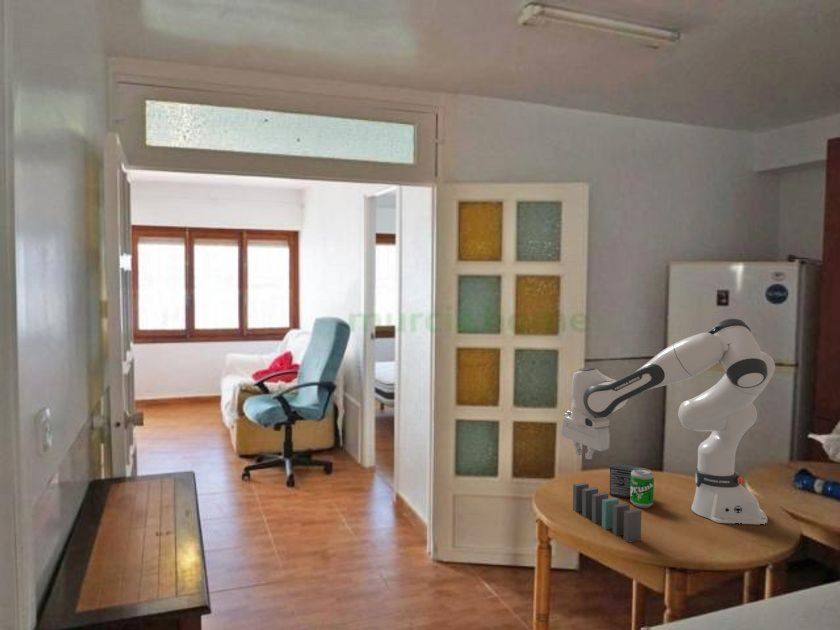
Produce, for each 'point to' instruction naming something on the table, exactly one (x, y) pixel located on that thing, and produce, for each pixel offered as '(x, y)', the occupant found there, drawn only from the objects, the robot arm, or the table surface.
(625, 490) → the small box
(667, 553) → the table surface
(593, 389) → the robot arm
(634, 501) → the soda can
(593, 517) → the domino
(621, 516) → the domino
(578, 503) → the domino
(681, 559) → the table surface
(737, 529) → the table surface
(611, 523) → the domino
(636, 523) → the domino
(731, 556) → the table surface
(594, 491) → the domino
